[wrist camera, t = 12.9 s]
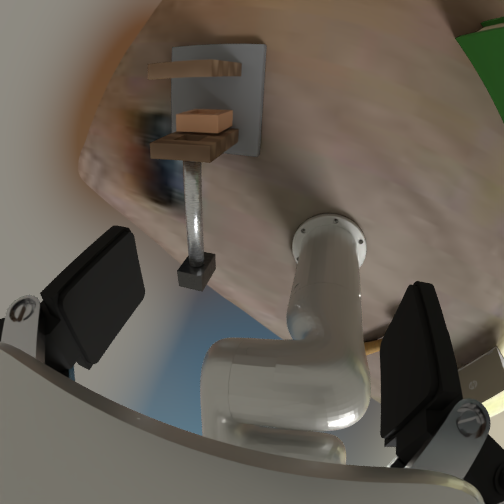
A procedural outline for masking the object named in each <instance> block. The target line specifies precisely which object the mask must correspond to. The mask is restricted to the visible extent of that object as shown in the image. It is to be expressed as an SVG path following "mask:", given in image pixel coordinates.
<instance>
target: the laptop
mask: <svg viewBox="0 0 504 504" xmlns="http://www.w3.org/2000/svg"><path fill="white" fill-rule="evenodd" d="M503 367H504V358H503V356H502V354H501V353H500V351H499V349H498V348H497V346H496V347H494V348H493V349H491V350H490V351H488V352H487V353H485V354H483V355H482V356H480V357H479V358H477V359H476V360H474V361H472V362H471V363H469V364H467V365H466V366H464V367H462V368H461V369H459V370H458V374H459V379H460V384H461V389H462V395H463V399H467V398H471V399H475V400H477V401H479V402H480V403H482V402H484V401H486V400H488V399H489V398H491V397H493V396H495V395H496V394H498V393H500V392H501V391H503V390H504V368H503Z"/></svg>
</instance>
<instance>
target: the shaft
mask: <svg viewBox="0 0 504 504" xmlns="http://www.w3.org/2000/svg"><path fill="white" fill-rule="evenodd" d="M183 176H184V197H185V214H186V229H187V243H188V257H187V258H186V260H185V261H184V262H183V264H182V265H181V266H180V268H179V269H178V270H177V274H178V281H179V286H181V287H186V288H190V289H195V290H198V291H203V290H204V288H205V286H206V285H207V283H208V281H209V279H210V278H211V276H212V274H213V272H214V271H215V269H216V264H215V254H212V253H207V252H204V243H203V218H202V179H201V162H196V161H183Z"/></svg>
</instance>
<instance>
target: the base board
mask: <svg viewBox="0 0 504 504" xmlns="http://www.w3.org/2000/svg"><path fill="white" fill-rule="evenodd" d="M266 46H267V45H265V44H210V45H194V46H181V47H172V62H174V61H187V60H208V59H213V60H222V61H230V62H237V63H242V70H241V76H220V77H183V78H171V108H172V133H174V132H176V114H179V113H182V112H186V111H189V110H193V109H218V110H233V120H232V126H231V127H229V128H232V129H239V136H238V143H236V144H235V145H233V146H232V147H231V148H229V149H228V150H227V151H225V152H224V153H226V154H236V155H246V156H254V157H258V156H259V155H260V141H261V125H262V109H263V94H264V78H265V62H266Z"/></svg>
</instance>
